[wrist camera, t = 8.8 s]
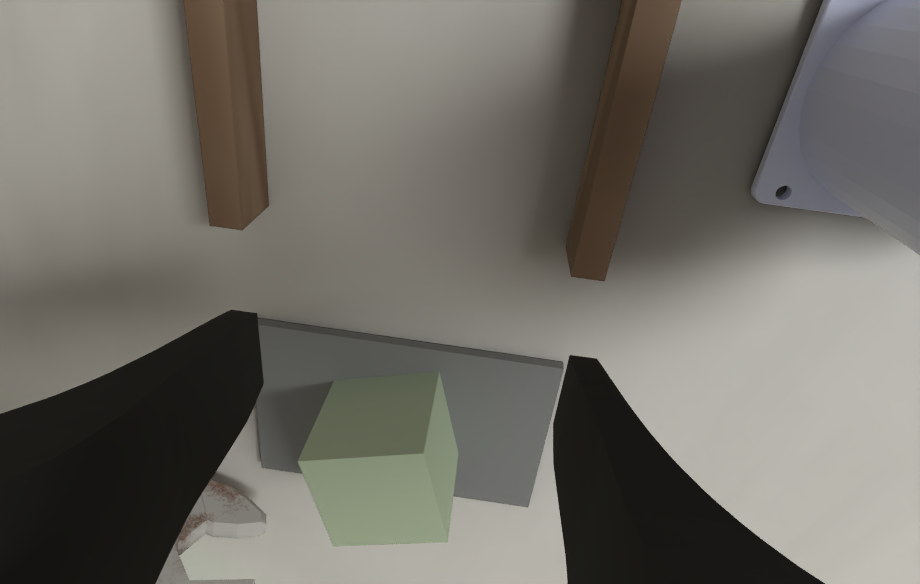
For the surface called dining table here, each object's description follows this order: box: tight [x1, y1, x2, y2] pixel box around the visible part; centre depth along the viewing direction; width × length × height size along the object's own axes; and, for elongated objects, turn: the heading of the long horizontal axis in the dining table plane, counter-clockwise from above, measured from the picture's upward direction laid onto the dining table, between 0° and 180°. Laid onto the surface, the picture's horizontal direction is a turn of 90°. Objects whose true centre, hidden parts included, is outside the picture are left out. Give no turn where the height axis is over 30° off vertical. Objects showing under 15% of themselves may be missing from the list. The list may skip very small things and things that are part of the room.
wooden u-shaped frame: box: [184, 0, 682, 281], centre depth 18 cm, size 14×12×2 cm
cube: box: [298, 372, 458, 546], centre depth 25 cm, size 5×5×5 cm
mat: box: [256, 318, 564, 507], centre depth 27 cm, size 14×9×1 cm, turn 84°
